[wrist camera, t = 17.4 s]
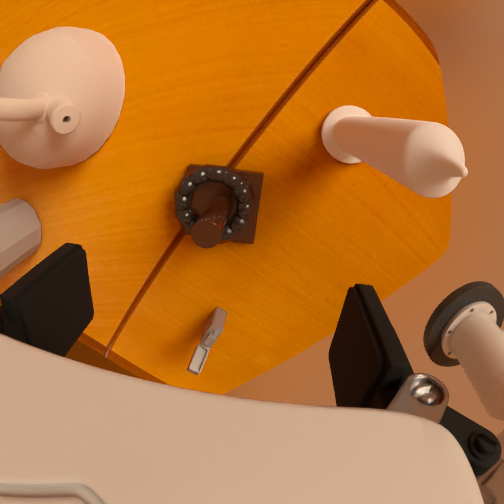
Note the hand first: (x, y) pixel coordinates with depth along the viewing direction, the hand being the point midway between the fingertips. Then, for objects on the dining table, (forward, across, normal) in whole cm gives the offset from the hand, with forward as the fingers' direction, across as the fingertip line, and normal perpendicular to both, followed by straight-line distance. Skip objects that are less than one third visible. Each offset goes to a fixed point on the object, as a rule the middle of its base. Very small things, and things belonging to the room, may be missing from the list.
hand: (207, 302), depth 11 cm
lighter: (+30, +4, +24) cm, 39 cm away
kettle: (+30, +27, -8) cm, 41 cm away
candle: (+30, -11, -6) cm, 32 cm away
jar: (+30, +37, +12) cm, 48 cm away
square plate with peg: (+30, +4, +5) cm, 30 cm away
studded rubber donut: (+28, +4, +5) cm, 28 cm away
